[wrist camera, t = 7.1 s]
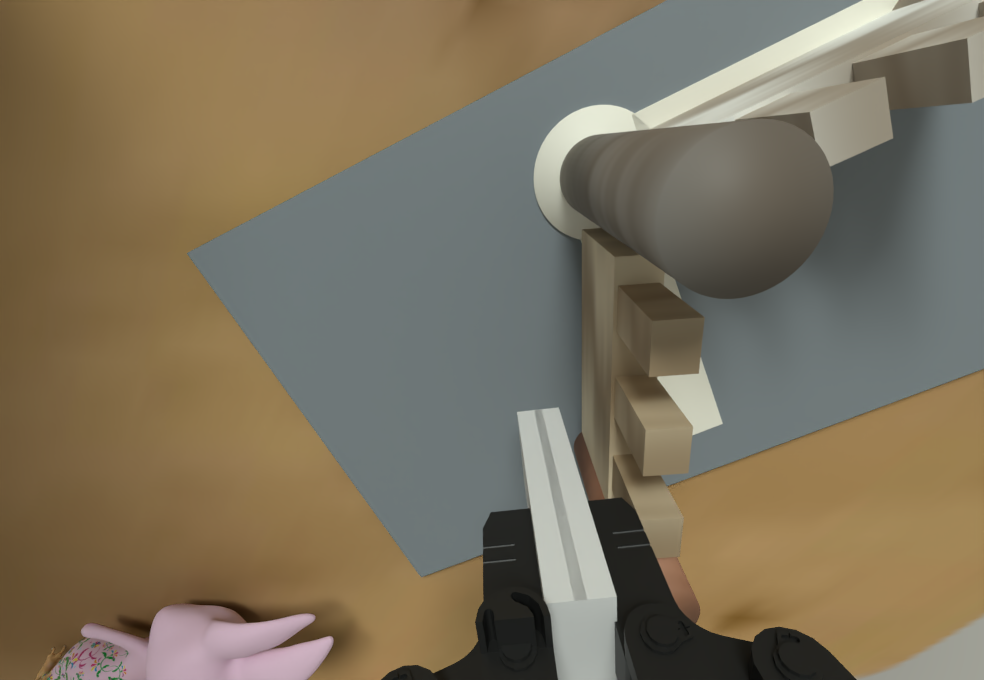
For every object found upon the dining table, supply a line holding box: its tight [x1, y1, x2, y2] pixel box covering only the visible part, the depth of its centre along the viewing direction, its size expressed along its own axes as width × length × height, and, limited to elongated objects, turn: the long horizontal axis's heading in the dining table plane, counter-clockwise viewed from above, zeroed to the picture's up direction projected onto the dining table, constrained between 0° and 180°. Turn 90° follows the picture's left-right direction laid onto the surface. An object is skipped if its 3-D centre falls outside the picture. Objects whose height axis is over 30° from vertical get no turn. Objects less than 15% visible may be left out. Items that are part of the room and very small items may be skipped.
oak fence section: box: [574, 228, 705, 623], centre depth 13 cm, size 9×2×7 cm, turn 4°
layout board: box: [187, 0, 984, 577], centre depth 17 cm, size 25×16×1 cm, turn 115°
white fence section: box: [560, 0, 984, 299], centre depth 10 cm, size 12×2×9 cm, turn 115°
